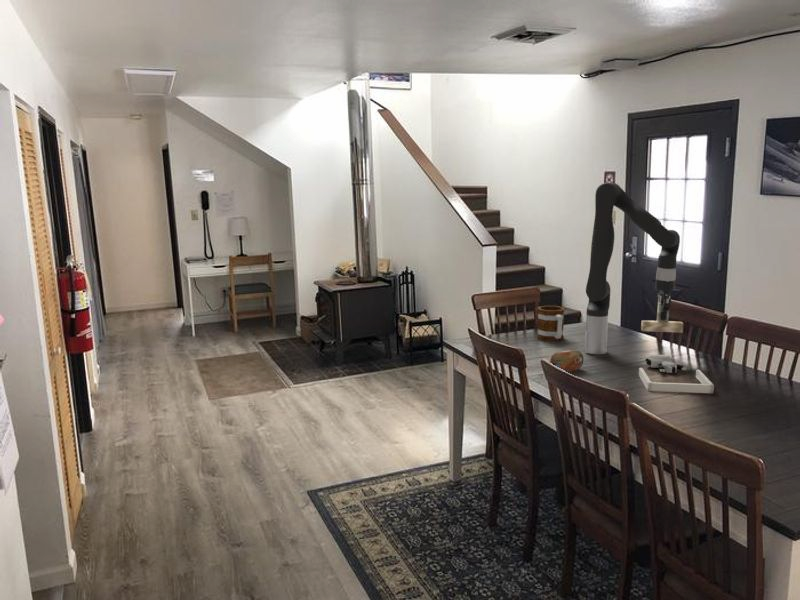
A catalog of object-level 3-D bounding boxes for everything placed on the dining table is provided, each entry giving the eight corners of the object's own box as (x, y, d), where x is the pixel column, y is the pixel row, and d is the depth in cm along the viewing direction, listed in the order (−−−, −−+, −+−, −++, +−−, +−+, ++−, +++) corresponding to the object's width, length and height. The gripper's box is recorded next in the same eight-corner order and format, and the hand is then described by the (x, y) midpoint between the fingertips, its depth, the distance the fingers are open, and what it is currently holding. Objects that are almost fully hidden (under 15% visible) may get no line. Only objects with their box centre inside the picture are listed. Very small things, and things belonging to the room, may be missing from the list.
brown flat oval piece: (553, 374, 257) (553, 354, 256) (548, 372, 260) (548, 352, 259) (583, 369, 263) (584, 349, 261) (578, 367, 266) (579, 347, 264)
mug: (532, 335, 320) (533, 306, 317) (558, 334, 322) (559, 304, 319) (546, 345, 301) (546, 314, 298) (573, 343, 303) (574, 313, 300)
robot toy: (688, 376, 254) (666, 362, 269) (689, 365, 253) (667, 352, 268) (659, 378, 252) (639, 365, 267) (660, 367, 251) (640, 354, 265)
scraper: (642, 331, 269) (644, 303, 267) (640, 329, 272) (643, 301, 270) (682, 332, 266) (685, 304, 264) (680, 330, 269) (683, 303, 267)
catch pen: (648, 390, 235) (648, 383, 235) (638, 375, 254) (639, 367, 253) (713, 393, 231) (713, 385, 230) (699, 377, 250) (699, 369, 249)
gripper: (652, 275, 272) (649, 315, 276) (659, 281, 258) (656, 322, 262) (671, 276, 271) (667, 315, 274) (679, 281, 257) (675, 323, 261)
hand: (662, 318), depth 268 cm, fingers closed on scraper, 3 cm apart
